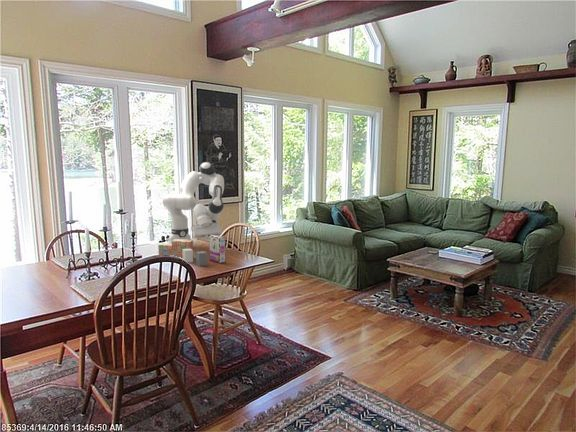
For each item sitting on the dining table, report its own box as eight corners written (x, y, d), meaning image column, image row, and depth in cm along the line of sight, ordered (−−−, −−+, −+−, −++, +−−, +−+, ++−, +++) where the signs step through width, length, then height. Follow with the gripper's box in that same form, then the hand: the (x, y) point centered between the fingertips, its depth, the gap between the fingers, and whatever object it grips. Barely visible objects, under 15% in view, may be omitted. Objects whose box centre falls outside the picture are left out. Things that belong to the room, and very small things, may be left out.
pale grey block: (182, 261, 260) (182, 249, 259) (190, 260, 263) (189, 248, 262) (185, 263, 256) (185, 250, 255) (192, 262, 259) (192, 249, 257)
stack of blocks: (158, 258, 266) (157, 240, 264) (162, 256, 272) (161, 238, 270) (190, 260, 264) (190, 241, 262) (193, 257, 270) (193, 239, 268)
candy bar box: (225, 262, 260) (225, 237, 257) (219, 263, 256) (219, 238, 254) (215, 258, 268) (215, 234, 265) (209, 260, 264) (209, 235, 262)
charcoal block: (196, 264, 254) (196, 251, 252) (203, 263, 256) (203, 250, 255) (199, 266, 250) (199, 253, 248) (206, 265, 252) (206, 252, 251)
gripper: (191, 223, 271) (197, 240, 265) (219, 220, 283) (225, 236, 276) (188, 228, 275) (194, 245, 269) (216, 225, 287) (223, 241, 281)
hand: (210, 241), depth 273 cm, fingers closed
